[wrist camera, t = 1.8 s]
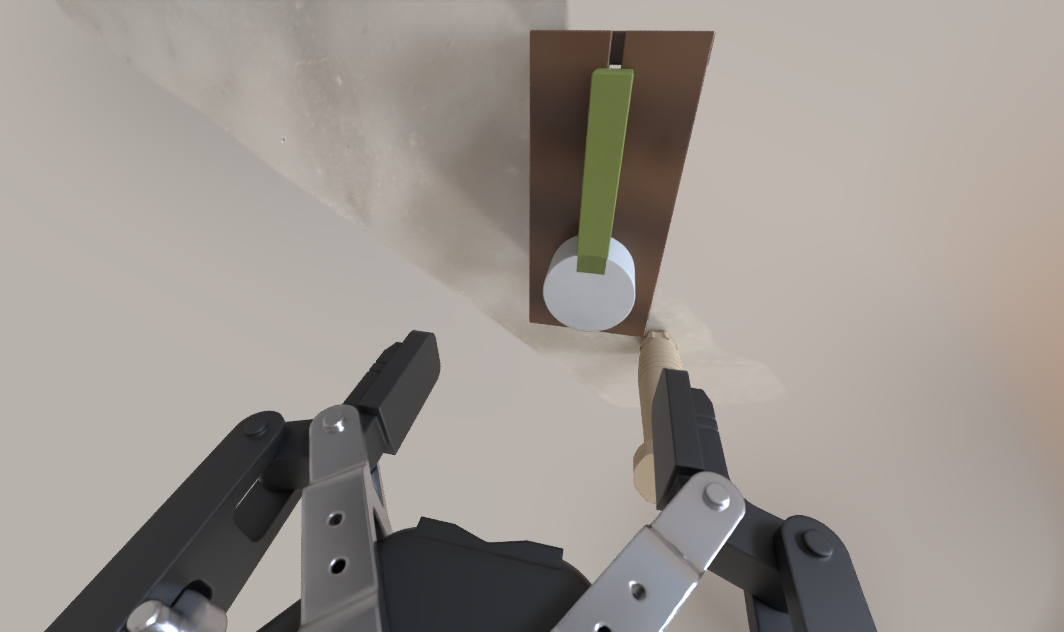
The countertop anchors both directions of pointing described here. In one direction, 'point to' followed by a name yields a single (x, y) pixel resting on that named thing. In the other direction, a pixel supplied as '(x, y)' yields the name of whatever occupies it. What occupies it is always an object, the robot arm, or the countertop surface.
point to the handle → (653, 358)
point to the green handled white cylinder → (597, 220)
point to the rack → (648, 155)
